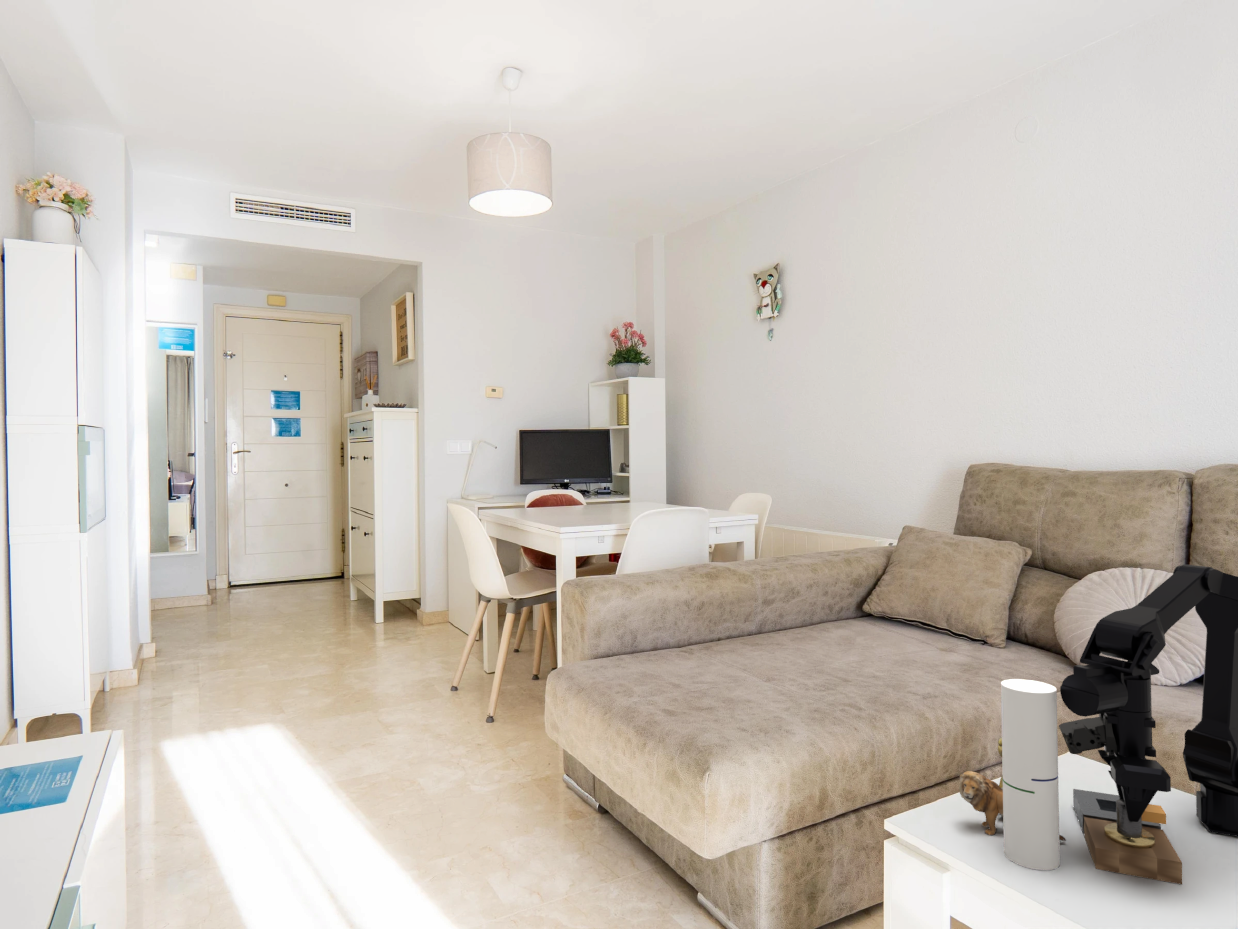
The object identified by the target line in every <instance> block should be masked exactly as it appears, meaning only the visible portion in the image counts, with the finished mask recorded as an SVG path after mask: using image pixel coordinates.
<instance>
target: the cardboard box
mask: <svg viewBox="0 0 1238 929" xmlns="http://www.w3.org/2000/svg"><path fill="white" fill-rule="evenodd" d="M1142 821H1147V822H1153V823H1159V824H1160V825H1167V814H1166V811H1165V810H1164V808H1163V807H1162V806H1161V805H1157V804H1153V803H1149V804H1148V806H1147V808H1146V809H1145V811H1144V813H1143V814H1142Z"/></svg>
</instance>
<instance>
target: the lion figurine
mask: <svg viewBox="0 0 1238 929" xmlns="http://www.w3.org/2000/svg"><path fill="white" fill-rule="evenodd" d="M958 792H959V795H960V796H961V798H962V799H963V800H964V801H965V802H967V803H969V804H970V805H971V806H972V807H973V809H974V810H975V811H977V812H980V813H984V817H985V821H983V822H982V823H981V824H982V825H981V826H983V827H984V828H986V829H985V830H984V834H986V835H988V836H994V835H995V833H996V831H997V828H996V827H997V826H996V821H997V818H998V816H999V815H1001V816H1002V815H1003V789H1002V788H1000V786H999V783H997V782H995V781H993V780H991V779H989V778H987V777H986V776H985V775H982V774H981V773H979V772H976V771H972V770H967V771H965V772H963V773H962V774H959V783H958ZM1059 841H1061V842H1066V841H1067V839H1066V838H1065V836H1063V835H1061V834H1059Z"/></svg>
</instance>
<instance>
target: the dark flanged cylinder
mask: <svg viewBox="0 0 1238 929" xmlns="http://www.w3.org/2000/svg"><path fill="white" fill-rule="evenodd" d="M1116 814H1117V823H1111V824H1107V825H1106V826H1105V835H1106V836H1107V837H1108V838H1109V839H1111V840H1112V841H1114V842H1117V843H1119V844H1122V845H1125V846H1129V847H1133V848H1151V847H1153V846H1154V845H1155V838H1154V836H1153V835H1152V834H1151V833H1149V832H1148V831H1146V830H1144V829H1142V816H1141V818H1140V819H1139V821H1138V822H1132V821H1129V819H1128V816H1127V812H1126V807H1125V802H1124V799H1118V800H1116Z"/></svg>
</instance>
